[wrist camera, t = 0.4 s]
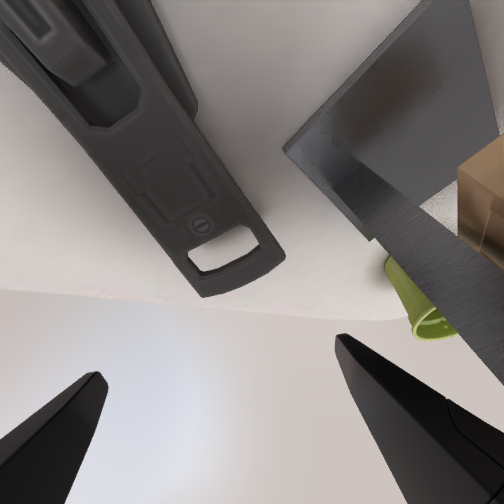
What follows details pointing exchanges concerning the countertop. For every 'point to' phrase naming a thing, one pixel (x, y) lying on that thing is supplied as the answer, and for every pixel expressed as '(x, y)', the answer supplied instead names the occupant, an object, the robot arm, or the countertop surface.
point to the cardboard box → (483, 202)
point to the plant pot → (418, 306)
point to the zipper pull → (136, 124)
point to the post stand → (414, 161)
